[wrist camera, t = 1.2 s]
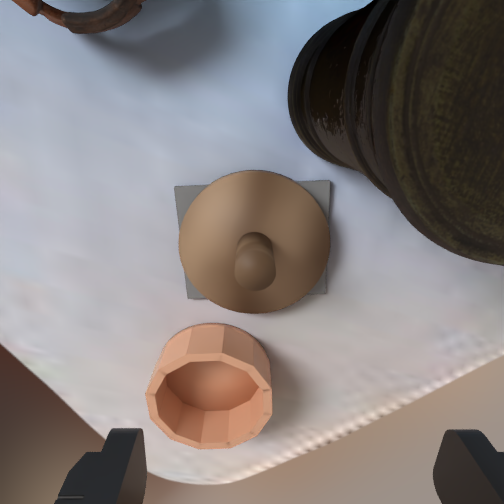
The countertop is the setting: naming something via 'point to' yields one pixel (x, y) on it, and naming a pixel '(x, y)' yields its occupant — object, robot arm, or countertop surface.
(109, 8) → the pottery mug
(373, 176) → the container
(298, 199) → the lid
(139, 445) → the robot arm
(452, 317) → the countertop surface
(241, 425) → the bowl
